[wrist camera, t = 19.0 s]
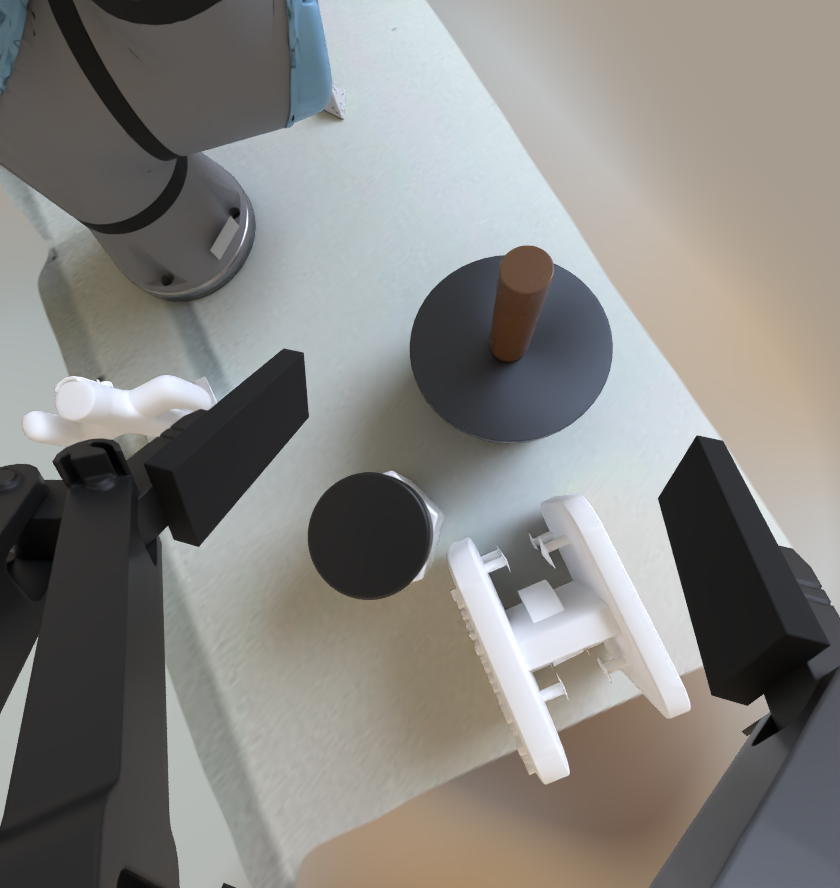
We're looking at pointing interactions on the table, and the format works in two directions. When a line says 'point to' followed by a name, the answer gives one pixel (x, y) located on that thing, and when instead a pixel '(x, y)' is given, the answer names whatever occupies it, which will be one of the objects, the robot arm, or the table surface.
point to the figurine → (116, 409)
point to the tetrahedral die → (337, 102)
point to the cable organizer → (560, 628)
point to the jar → (374, 534)
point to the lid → (511, 347)
